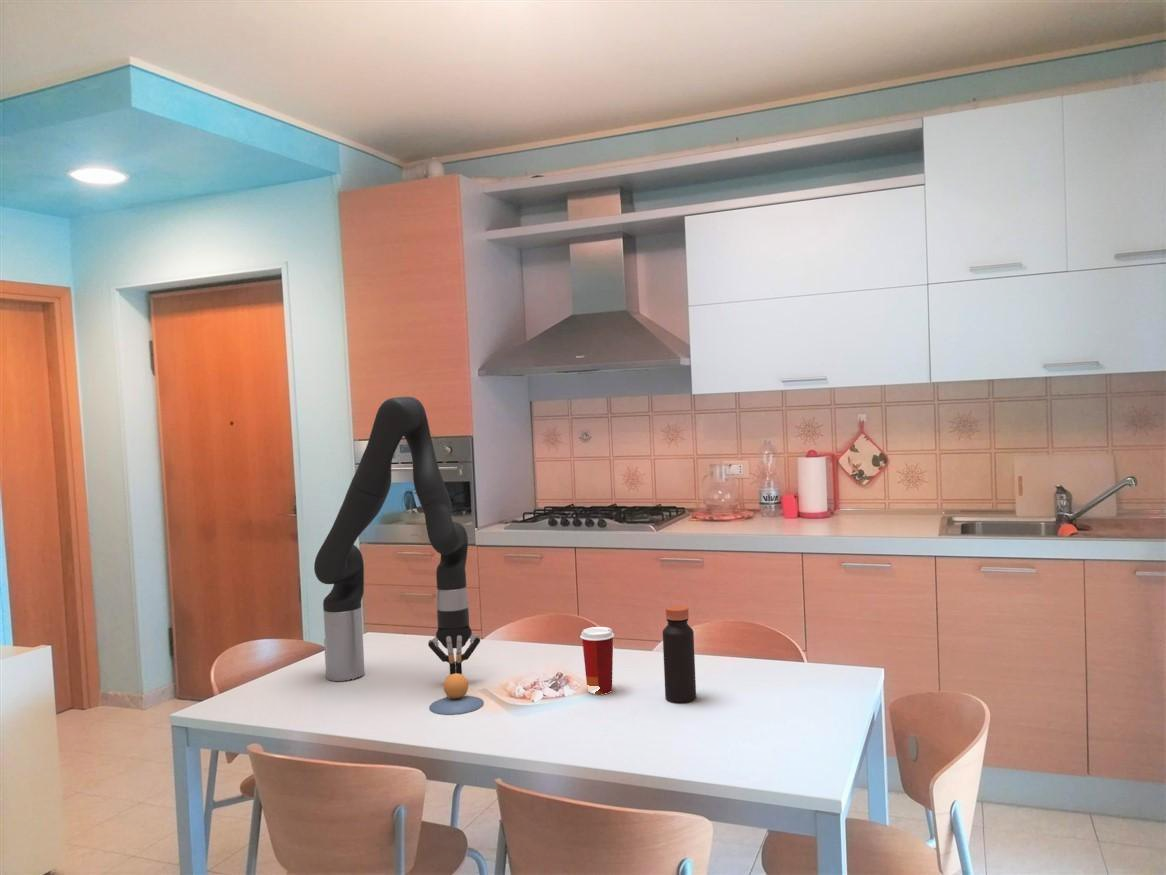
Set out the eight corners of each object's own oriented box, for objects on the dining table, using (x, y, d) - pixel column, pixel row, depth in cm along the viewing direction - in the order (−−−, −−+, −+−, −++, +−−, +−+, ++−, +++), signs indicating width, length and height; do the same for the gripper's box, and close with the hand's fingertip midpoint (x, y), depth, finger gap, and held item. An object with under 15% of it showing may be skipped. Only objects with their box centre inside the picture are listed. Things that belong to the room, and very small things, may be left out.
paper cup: (617, 685, 200) (614, 625, 200) (615, 696, 193) (612, 634, 192) (584, 686, 201) (581, 626, 201) (580, 696, 193) (578, 634, 193)
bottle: (695, 704, 185) (691, 611, 185) (663, 703, 187) (659, 611, 186) (697, 693, 192) (693, 604, 191) (667, 693, 193) (663, 604, 193)
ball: (437, 690, 193) (439, 689, 198) (458, 704, 193) (459, 703, 198) (452, 668, 194) (453, 668, 200) (472, 682, 194) (473, 681, 199)
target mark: (418, 707, 191) (418, 706, 191) (461, 693, 200) (461, 692, 200) (451, 718, 183) (451, 717, 183) (494, 703, 191) (494, 702, 191)
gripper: (479, 600, 211) (483, 670, 212) (425, 605, 209) (428, 675, 210) (480, 607, 204) (484, 679, 204) (424, 611, 202) (427, 684, 202)
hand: (456, 677), depth 207 cm, fingers closed
